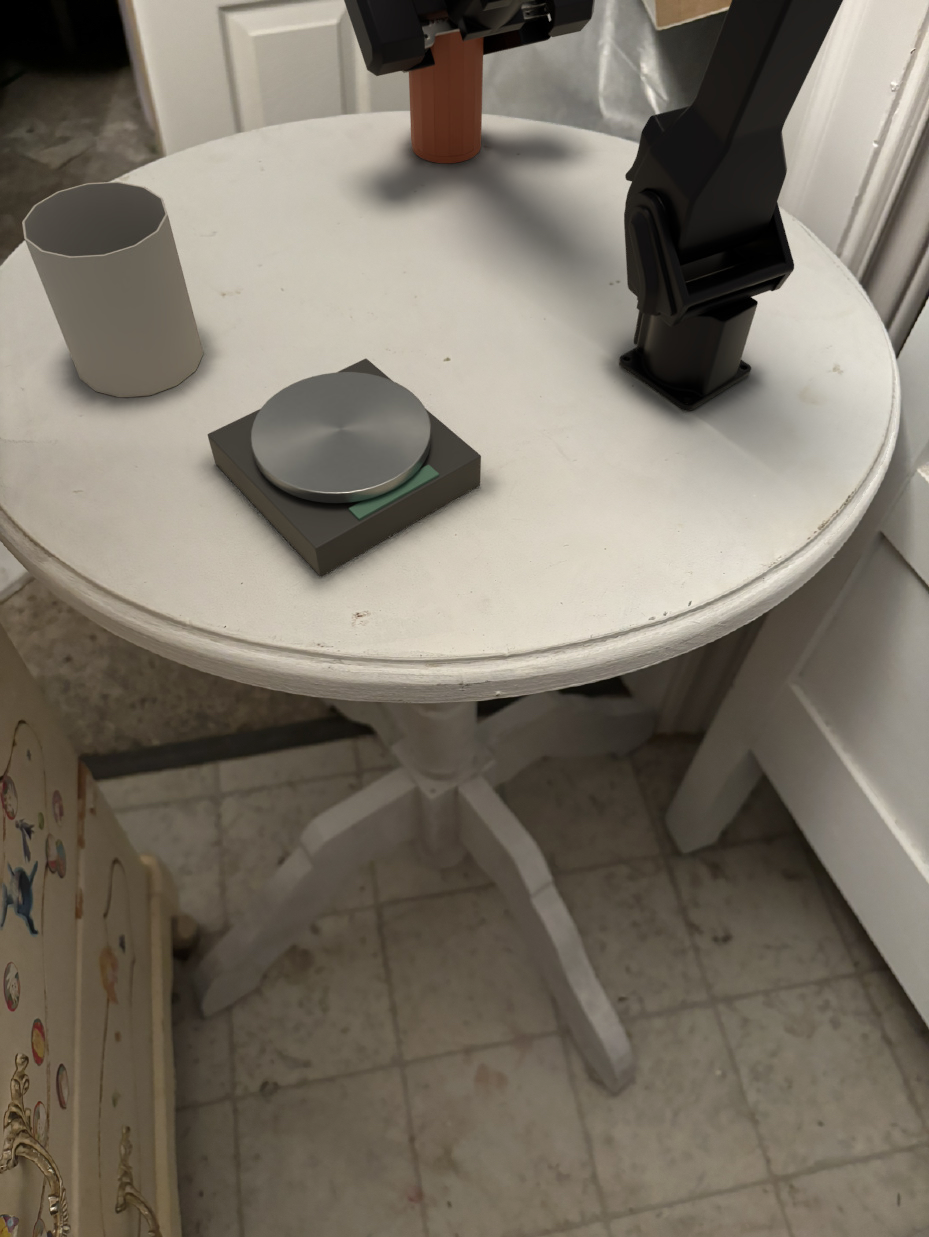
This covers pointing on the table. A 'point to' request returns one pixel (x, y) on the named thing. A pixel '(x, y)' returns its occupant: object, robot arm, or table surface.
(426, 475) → the scale
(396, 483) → the scale pan
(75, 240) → the cup
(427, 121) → the jar
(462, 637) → the table surface
